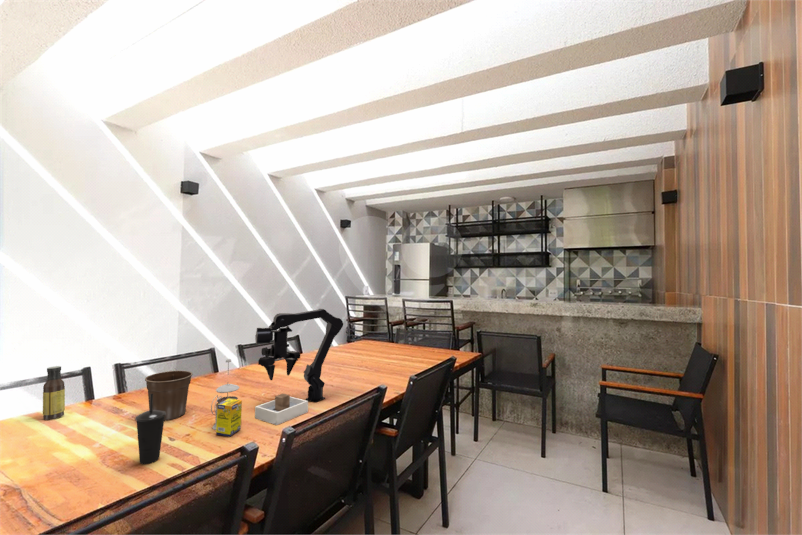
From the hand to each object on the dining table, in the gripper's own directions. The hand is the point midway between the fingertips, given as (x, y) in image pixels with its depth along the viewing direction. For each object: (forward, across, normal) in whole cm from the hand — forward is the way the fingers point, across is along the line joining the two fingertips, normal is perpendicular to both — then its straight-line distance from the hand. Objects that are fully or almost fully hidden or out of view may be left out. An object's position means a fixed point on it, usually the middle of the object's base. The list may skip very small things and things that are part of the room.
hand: (279, 377), depth 156 cm
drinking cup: (+12, +53, +5) cm, 55 cm away
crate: (+12, +7, +10) cm, 17 cm away
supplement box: (+12, +29, +7) cm, 32 cm away
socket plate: (+12, +7, +10) cm, 17 cm away
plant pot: (+12, +32, -28) cm, 44 cm away
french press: (+12, +26, +1) cm, 29 cm away
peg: (+11, +7, +10) cm, 17 cm away
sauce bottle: (+12, +57, -64) cm, 87 cm away
